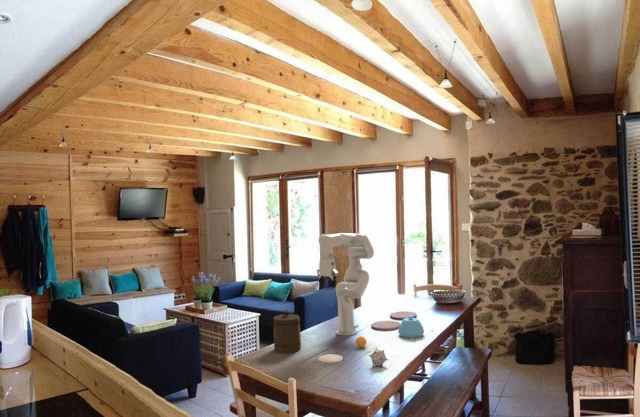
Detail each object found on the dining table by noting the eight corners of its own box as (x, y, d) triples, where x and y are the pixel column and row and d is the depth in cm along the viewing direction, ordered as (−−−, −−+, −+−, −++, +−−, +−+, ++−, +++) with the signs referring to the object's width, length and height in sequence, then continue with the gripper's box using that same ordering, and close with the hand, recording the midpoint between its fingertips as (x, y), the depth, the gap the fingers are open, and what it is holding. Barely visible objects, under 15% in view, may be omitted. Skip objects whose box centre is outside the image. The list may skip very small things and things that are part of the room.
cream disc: (330, 353, 260) (329, 352, 260) (348, 358, 251) (348, 357, 251) (312, 359, 251) (312, 358, 251) (331, 364, 242) (331, 364, 242)
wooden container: (287, 344, 280) (285, 306, 280) (306, 348, 271) (305, 309, 271) (268, 350, 269) (267, 311, 269) (288, 355, 259) (286, 314, 259)
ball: (360, 345, 273) (360, 334, 273) (368, 347, 269) (368, 336, 269) (353, 347, 269) (353, 336, 269) (362, 349, 264) (361, 338, 264)
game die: (378, 374, 236) (369, 361, 231) (371, 363, 243) (363, 350, 239) (393, 364, 236) (385, 351, 232) (386, 353, 244) (378, 340, 239)
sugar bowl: (424, 339, 281) (423, 319, 280) (398, 338, 284) (397, 319, 283) (423, 332, 295) (423, 313, 295) (399, 331, 298) (398, 313, 298)
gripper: (341, 256, 276) (342, 286, 276) (321, 255, 289) (322, 283, 289) (332, 258, 271) (333, 288, 271) (311, 256, 284) (313, 285, 284)
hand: (327, 285), depth 280 cm, fingers open, 9 cm apart
